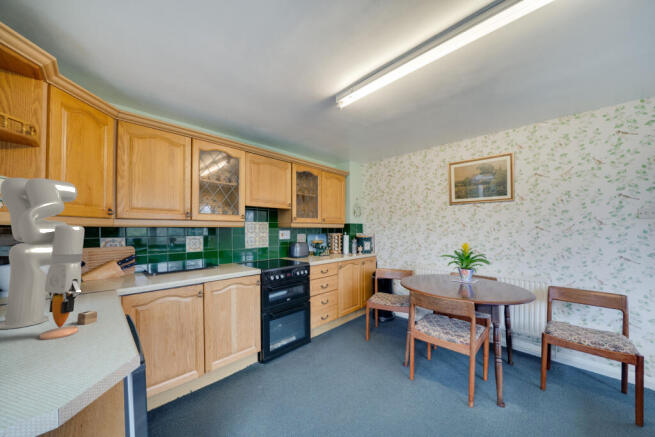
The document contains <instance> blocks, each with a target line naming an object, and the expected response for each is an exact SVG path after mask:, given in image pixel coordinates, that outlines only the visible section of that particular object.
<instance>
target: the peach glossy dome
mask: <svg viewBox="0 0 655 437" xmlns="http://www.w3.org/2000/svg"><path fill="white" fill-rule="evenodd" d="M78 332H79V327H78V326H76V325H75V326H74V325H72V326H71V325H69V326H61V327H60V328H59V327H56V328H52V329H48V330H45V331H43V332H41V333H40V334H39V339H40V340H43V341H47V340H55V339H61V338H64V337H69V336H71V335H74V334H77V333H78Z"/></svg>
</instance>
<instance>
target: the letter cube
mask: <svg viewBox="0 0 655 437" xmlns="http://www.w3.org/2000/svg"><path fill="white" fill-rule="evenodd" d="M97 319H98V311H97V310H87V311H82V312H78V313H77V321H76V324H77V325H83V326H86V325H89V324H93V323H97Z"/></svg>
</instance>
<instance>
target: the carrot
mask: <svg viewBox="0 0 655 437" xmlns="http://www.w3.org/2000/svg"><path fill="white" fill-rule="evenodd" d="M58 294H59V293H58ZM69 295H70V294H68V296H69ZM51 301H52V300H51ZM62 302H64V298H63V293H62V294H59V295H56V296H54V297H53V301H52V312H51V313H52V318H53V321H54V323H55V325H56V326H57V328H61V327H64V324H65V323H66V321H67V320H68V318H69V316H70V313H71V312H69V313H64V314H61V307H62Z"/></svg>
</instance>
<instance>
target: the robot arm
mask: <svg viewBox="0 0 655 437" xmlns="http://www.w3.org/2000/svg"><path fill="white" fill-rule="evenodd" d="M0 196H1V197H0V198H1V200H2V202H3V204H4V205H5V207H6V209H7V210H8V212H9V218H10V225H11V226H10V227H11V233H12V237H13V238H14V240H15V241H17V242H20V243H17V244H15V245H12V247H11V248H10V249H9V252H8V259H9V266H10V269H9V270H10V272H9V273H10V275H9V276H10V277H9V286H8V293H7V294H8V295H7V303H6V310H5V314H4V318H5V319H4V321H2V322H0V329H1V330H10V329H19V328H24V327H25V328H26V327H31V326H35V325H38V324H42V323H45V322H47V321H49V319H50V316H49V315H45V305H46V298H47V296H46V295H47V293H48V295H49V300H50V303H49V310H48V311H49V313H52V301H53V297H54V296H56V295H59V294H62V293H63V298H64V302H62V307H61V314H64V313H69V312H70V313H73V312H74V311H75V301H76V299H77V297H78V295H79V294H80V293H81V291H82V290H81V283H82V266H81V265H82V260H83V259H82V258H83V248H84V239H85V228H84V226H81V225H72V224H68V223H66V222H64V221H61V220H48V219H47V218H51V217H55V216H57V215H59V214H61V213H63V211H64V210H65V208H66V207H65V203H71V202H74V201H75V200H76V199H77V197H78V189H77V187H76V186H75V185H74V184H73V183H71V182H67V181H62V180H55V179H50V178H45V177H44V178H41V177H35V178H25V177H8V178H6V179H4V180H3V181H2V182H1V184H0ZM44 266H49V268H48V270H47V273H46V272H45V271H44V270H43V269H42V268H41V267H44ZM68 294H70V295H69V296H68ZM70 313H69V314H70Z"/></svg>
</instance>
